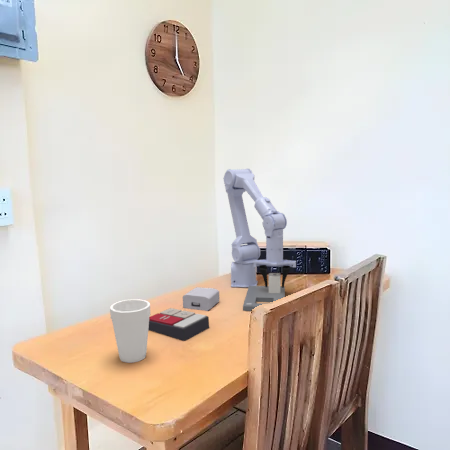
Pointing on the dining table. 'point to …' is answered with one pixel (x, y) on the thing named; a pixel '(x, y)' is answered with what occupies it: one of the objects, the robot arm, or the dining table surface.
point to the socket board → (260, 296)
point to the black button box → (178, 323)
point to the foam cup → (131, 328)
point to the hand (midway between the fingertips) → (274, 286)
